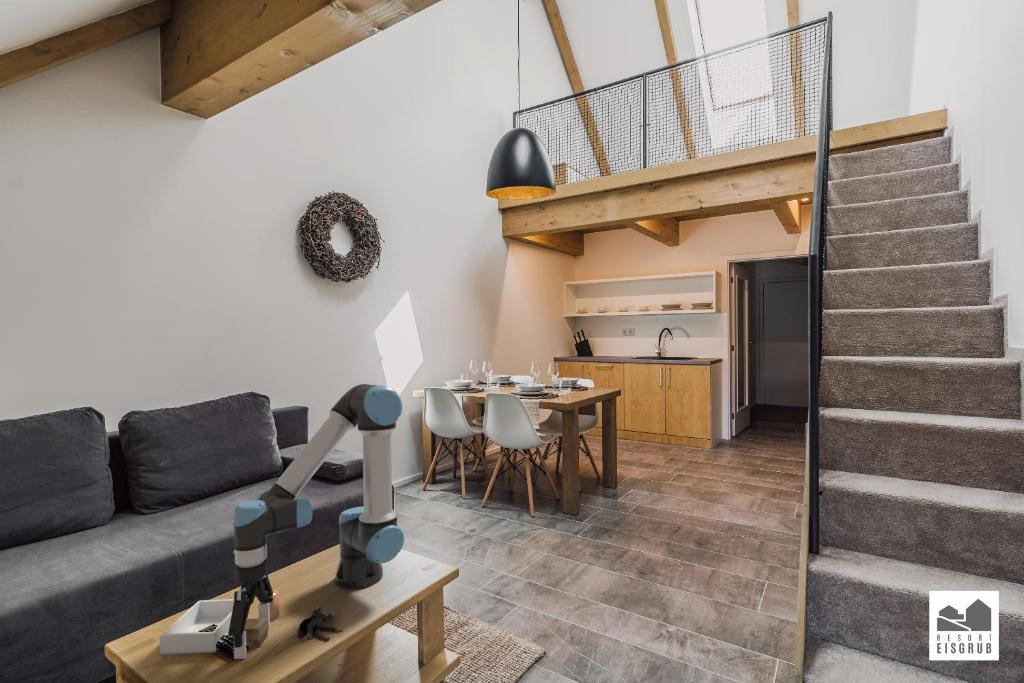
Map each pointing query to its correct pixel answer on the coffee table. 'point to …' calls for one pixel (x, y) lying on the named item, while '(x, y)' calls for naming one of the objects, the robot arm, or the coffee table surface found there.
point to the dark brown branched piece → (316, 625)
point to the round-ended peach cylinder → (274, 605)
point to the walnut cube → (256, 632)
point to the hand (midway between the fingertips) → (253, 642)
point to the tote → (197, 628)
